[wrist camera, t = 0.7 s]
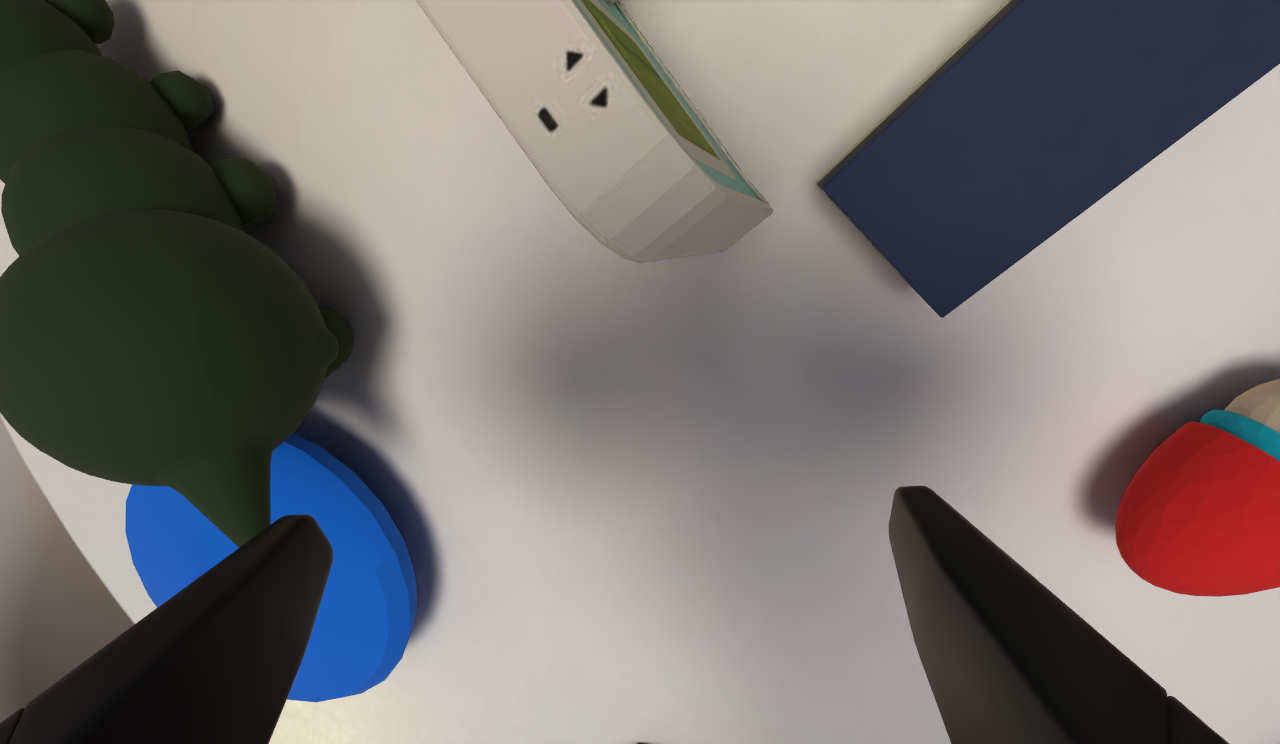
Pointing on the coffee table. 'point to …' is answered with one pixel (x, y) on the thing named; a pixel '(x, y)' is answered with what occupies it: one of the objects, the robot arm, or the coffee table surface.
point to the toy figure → (1210, 503)
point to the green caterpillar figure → (143, 279)
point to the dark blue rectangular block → (1040, 128)
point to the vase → (357, 583)
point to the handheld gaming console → (603, 123)
